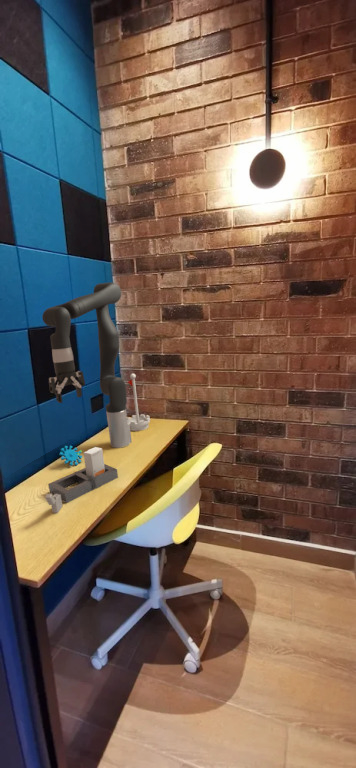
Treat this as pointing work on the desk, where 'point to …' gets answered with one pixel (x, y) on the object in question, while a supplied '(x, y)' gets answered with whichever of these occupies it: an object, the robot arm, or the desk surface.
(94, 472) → the skincare box
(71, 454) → the blue virus model
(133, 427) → the flag stand
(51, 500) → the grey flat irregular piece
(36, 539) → the desk surface
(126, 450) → the desk surface
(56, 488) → the cinder block
